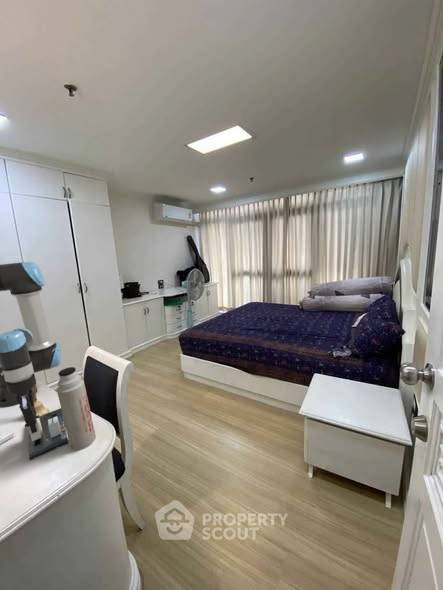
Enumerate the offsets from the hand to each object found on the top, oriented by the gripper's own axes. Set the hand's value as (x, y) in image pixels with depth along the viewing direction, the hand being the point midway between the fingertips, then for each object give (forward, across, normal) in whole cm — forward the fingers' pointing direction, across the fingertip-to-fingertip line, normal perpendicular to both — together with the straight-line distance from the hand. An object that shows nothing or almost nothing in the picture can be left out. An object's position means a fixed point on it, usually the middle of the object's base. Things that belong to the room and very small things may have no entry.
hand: (36, 438), depth 86 cm
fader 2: (+2, 0, +6) cm, 6 cm away
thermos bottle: (+4, +8, +13) cm, 16 cm away
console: (+4, -6, +3) cm, 8 cm away
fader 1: (+2, -4, 0) cm, 5 cm away
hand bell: (+4, -23, 0) cm, 23 cm away
